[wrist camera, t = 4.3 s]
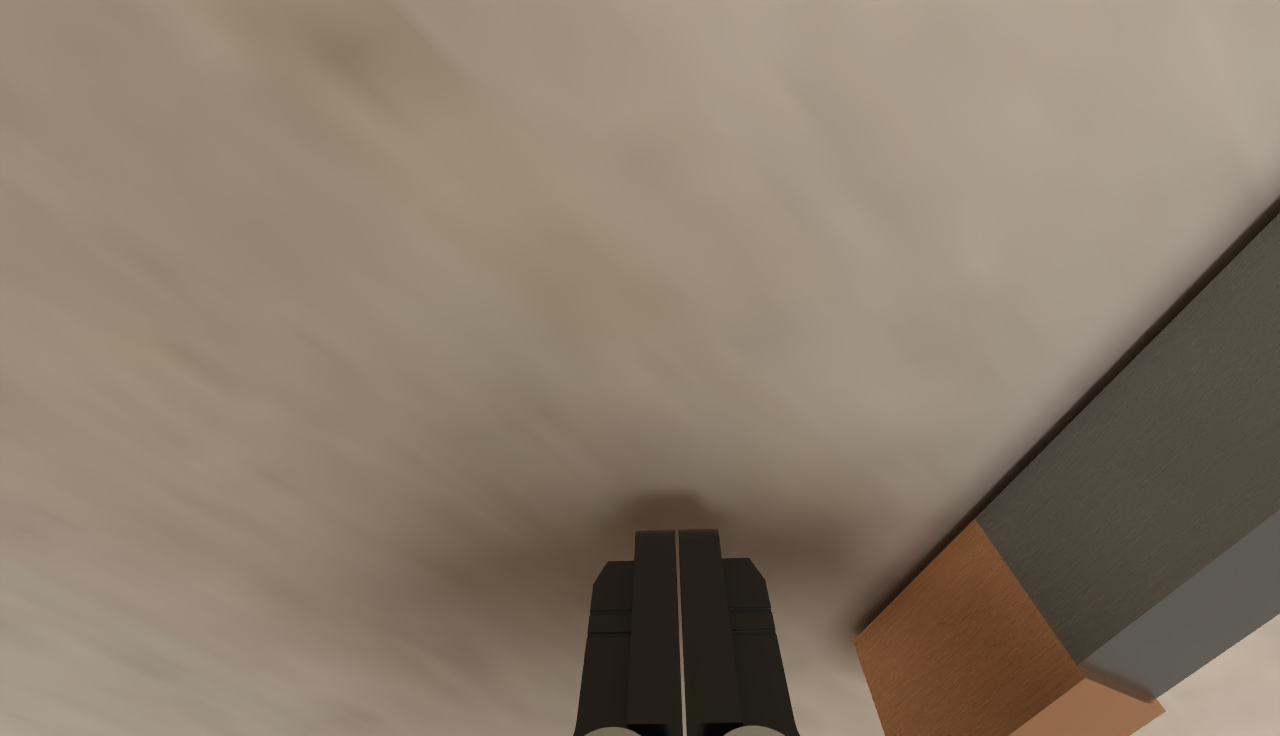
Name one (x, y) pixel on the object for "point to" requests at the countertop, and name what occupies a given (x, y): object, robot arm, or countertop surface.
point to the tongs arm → (1109, 543)
